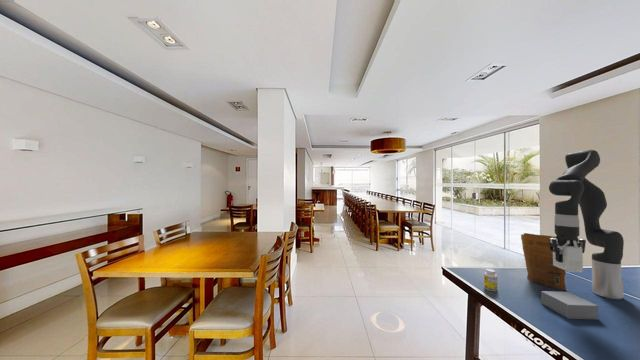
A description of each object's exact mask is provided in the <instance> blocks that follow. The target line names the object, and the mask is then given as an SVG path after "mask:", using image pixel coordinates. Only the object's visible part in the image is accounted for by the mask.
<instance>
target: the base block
mask: <svg viewBox="0 0 640 360" xmlns="http://www.w3.org/2000/svg"><path fill="white" fill-rule="evenodd" d="M540 294H541V295H540V299H541V300H540V301H541V305H543V306H546V307H547V308H549V309H550V310H552V311H554V312H556V313H557V314H559V315H561V316H563V317H565V318H567V319H570V320H573V319H574V320H599V305H598V304H596V303H593V302H591V301H589V300H587V299H584V298H582V297H580V296H578V295H576V294H574V293H572V292H569V291H552V290H551V291H550V290H549V291H548V290H545V291H544V290H542V291H541V292H540Z"/></svg>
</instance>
